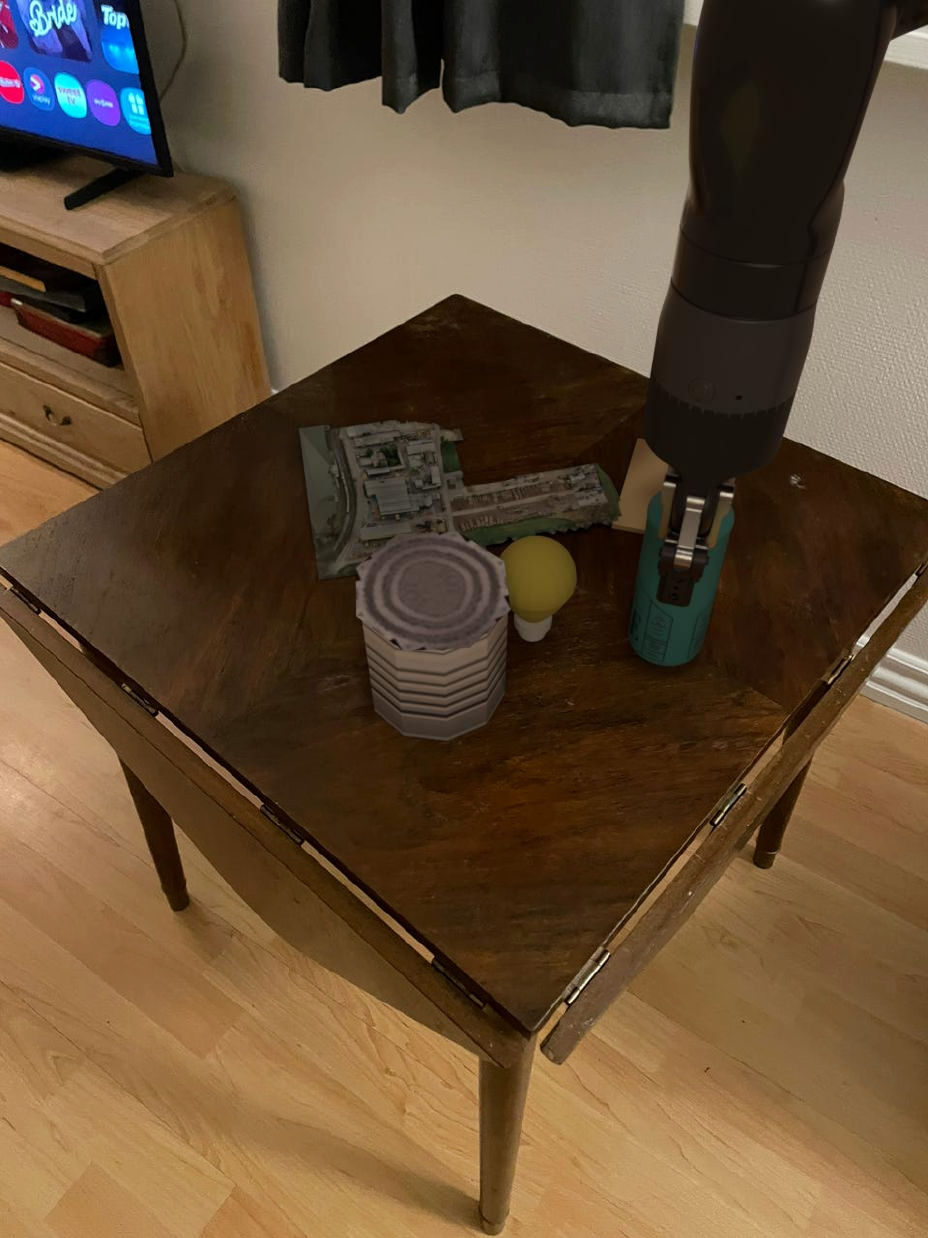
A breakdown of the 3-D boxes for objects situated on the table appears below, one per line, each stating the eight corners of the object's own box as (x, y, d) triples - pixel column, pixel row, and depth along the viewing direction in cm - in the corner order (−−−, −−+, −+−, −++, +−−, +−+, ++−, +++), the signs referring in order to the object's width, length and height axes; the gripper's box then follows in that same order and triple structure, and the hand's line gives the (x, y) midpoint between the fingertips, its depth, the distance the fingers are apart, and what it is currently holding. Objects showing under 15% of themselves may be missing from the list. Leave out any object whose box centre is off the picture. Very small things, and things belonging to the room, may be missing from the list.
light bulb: (515, 671, 77) (519, 587, 70) (480, 618, 82) (480, 533, 74) (585, 644, 79) (596, 560, 72) (547, 594, 83) (554, 509, 76)
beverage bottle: (715, 665, 78) (771, 477, 63) (646, 690, 76) (686, 502, 61) (674, 613, 82) (717, 424, 67) (607, 635, 80) (636, 447, 65)
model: (635, 529, 88) (636, 516, 87) (319, 580, 85) (316, 567, 84) (574, 401, 102) (574, 389, 101) (301, 441, 99) (299, 428, 98)
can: (493, 626, 81) (494, 522, 72) (519, 731, 73) (524, 630, 64) (362, 642, 80) (347, 539, 71) (374, 752, 72) (360, 651, 63)
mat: (733, 459, 96) (734, 454, 96) (716, 548, 87) (717, 543, 87) (636, 442, 98) (637, 437, 98) (611, 528, 89) (611, 523, 89)
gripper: (792, 453, 43) (719, 686, 56) (807, 312, 52) (741, 541, 64) (631, 427, 45) (596, 659, 57) (671, 293, 53) (634, 521, 66)
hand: (673, 596), depth 61 cm, fingers closed
